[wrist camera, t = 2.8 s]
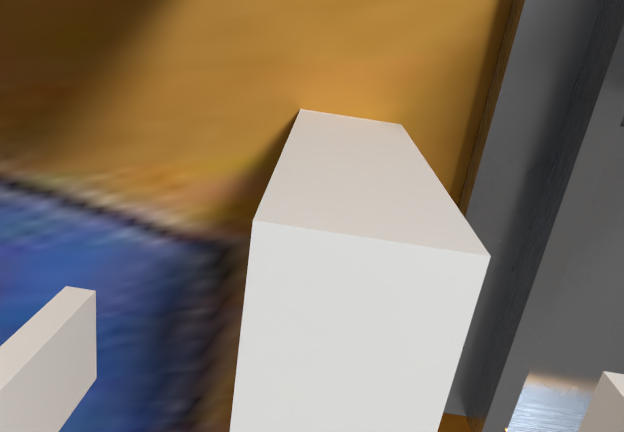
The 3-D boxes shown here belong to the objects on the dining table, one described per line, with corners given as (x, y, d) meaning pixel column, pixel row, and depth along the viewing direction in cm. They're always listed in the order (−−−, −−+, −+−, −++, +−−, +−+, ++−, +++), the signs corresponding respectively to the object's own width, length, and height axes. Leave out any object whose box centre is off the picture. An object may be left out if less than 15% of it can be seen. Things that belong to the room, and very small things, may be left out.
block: (271, 324, 23) (210, 607, 12) (300, 108, 19) (252, 220, 8) (356, 337, 23) (376, 630, 12) (401, 124, 19) (491, 256, 8)
